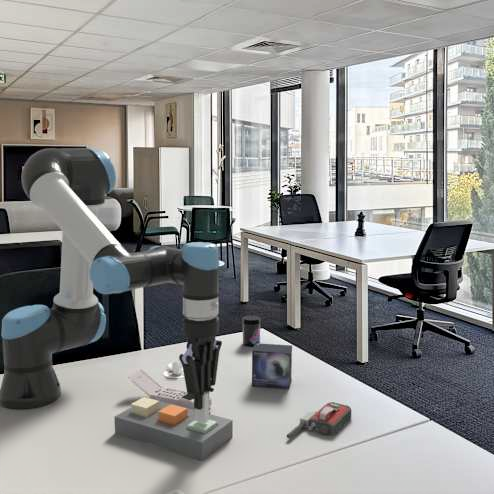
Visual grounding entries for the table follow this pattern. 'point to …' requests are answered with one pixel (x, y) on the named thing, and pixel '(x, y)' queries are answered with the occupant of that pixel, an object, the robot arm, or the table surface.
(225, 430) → the button console
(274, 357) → the small box
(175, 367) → the white candle holder
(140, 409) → the sand button
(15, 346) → the robot arm
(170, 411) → the orange button
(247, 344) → the supplement container
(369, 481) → the table surface
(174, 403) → the mobile phone
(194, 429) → the sage button
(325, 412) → the walkie-talkie
